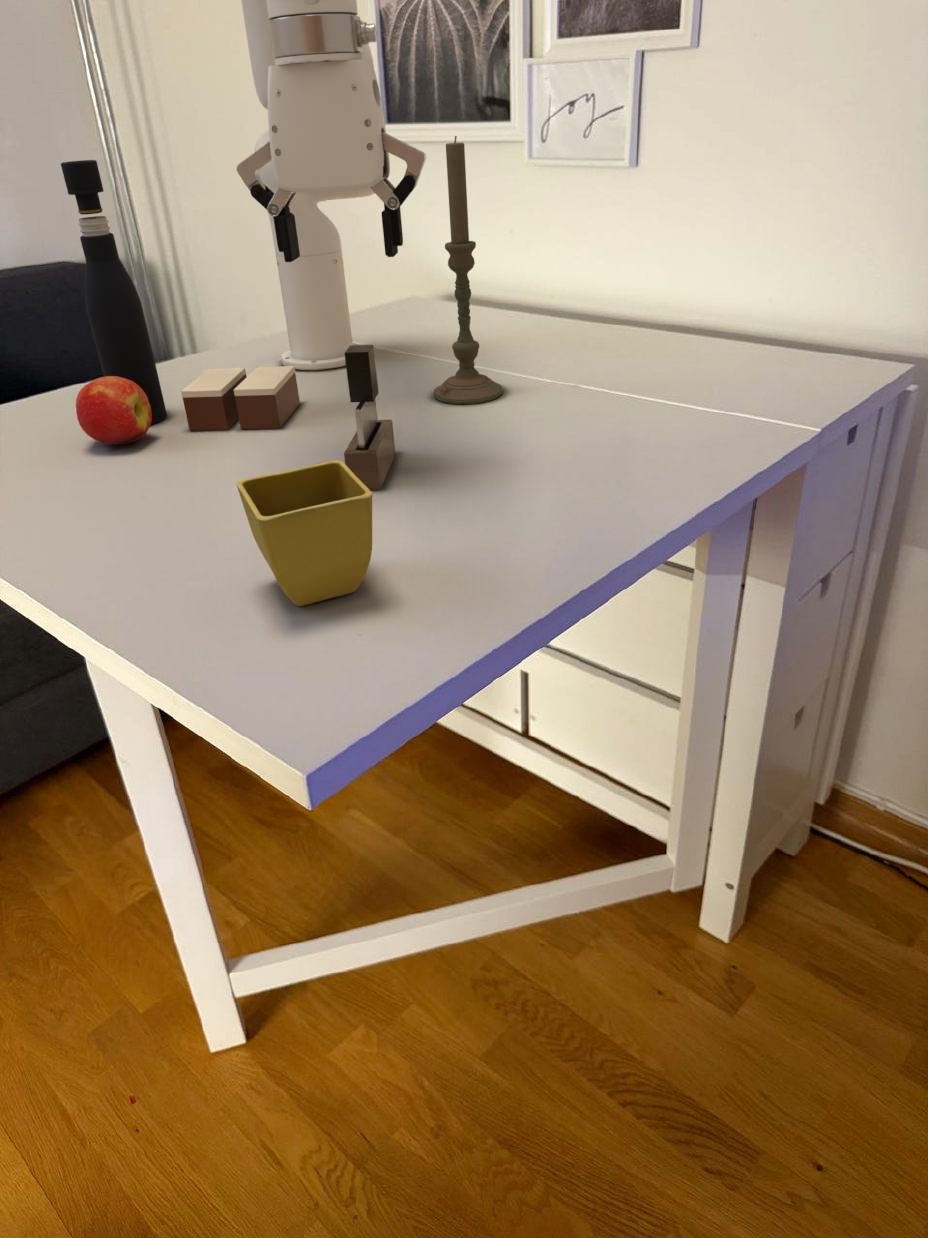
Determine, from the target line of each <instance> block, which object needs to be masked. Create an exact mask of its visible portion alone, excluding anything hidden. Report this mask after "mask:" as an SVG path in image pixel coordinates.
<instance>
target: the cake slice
mask: <svg viewBox="0 0 928 1238" xmlns="http://www.w3.org/2000/svg"><path fill="white" fill-rule="evenodd" d="M234 394H235V399H236V405H237V410H238V415H239V419H238V421H239V425H240V430H242V431H243V430H271V429H272V430H273V429H276V430H277V429H280V430H281V428H282V427H283V426H284V425H285V423H286V422H287V421H288V420H289V418H290V417H291V416H292V415H293V413H294V412H295V410H297V408H298V407H299V406H300V405H301V401H300V394H299V388H298V381H297V375H296V369H295V367H294V366H284V365H282V366H256V368H254V369H253V370H252V372H250V373H249V374H248V375H246V378H245V379H244V380H243V381H242V382H241V383H240V384H239V385H238V386H237V387H236V388H235V389H234Z"/></svg>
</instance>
